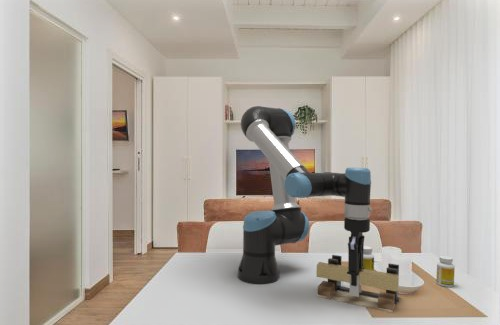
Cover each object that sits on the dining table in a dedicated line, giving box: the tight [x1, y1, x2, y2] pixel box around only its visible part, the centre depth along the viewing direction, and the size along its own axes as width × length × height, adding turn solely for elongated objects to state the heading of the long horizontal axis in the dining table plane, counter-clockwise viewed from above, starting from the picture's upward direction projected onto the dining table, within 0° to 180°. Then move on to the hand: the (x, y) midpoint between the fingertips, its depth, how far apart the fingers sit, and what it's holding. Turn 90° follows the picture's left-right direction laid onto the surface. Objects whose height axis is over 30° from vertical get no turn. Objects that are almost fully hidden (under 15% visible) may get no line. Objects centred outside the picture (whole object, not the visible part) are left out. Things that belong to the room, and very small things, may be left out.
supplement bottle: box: [435, 255, 455, 288], centre depth 120 cm, size 5×5×10 cm
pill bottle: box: [362, 245, 375, 271], centre depth 126 cm, size 6×6×11 cm
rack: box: [327, 254, 400, 305], centre depth 110 cm, size 22×6×10 cm, turn 62°
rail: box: [316, 261, 400, 293], centre depth 105 cm, size 24×3×4 cm, turn 62°
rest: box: [316, 280, 396, 313], centre depth 105 cm, size 22×7×3 cm, turn 62°
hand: (355, 293), depth 105 cm, fingers closed on rail, 3 cm apart
